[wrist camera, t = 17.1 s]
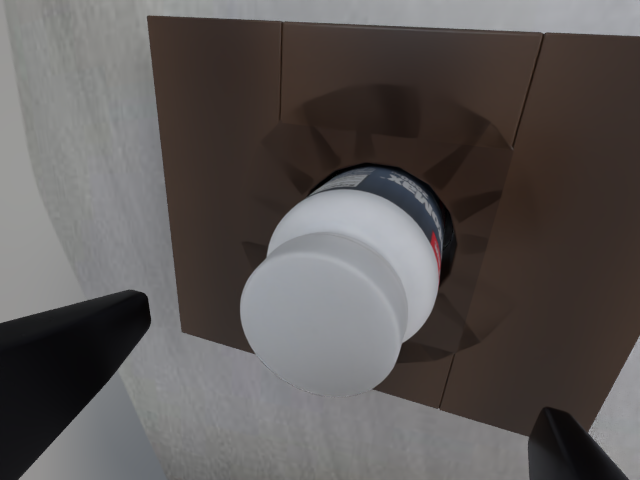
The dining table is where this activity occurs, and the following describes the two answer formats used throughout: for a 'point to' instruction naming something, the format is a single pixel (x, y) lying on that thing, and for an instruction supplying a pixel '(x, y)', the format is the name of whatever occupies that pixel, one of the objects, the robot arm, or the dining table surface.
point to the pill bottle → (346, 281)
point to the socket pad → (432, 168)
